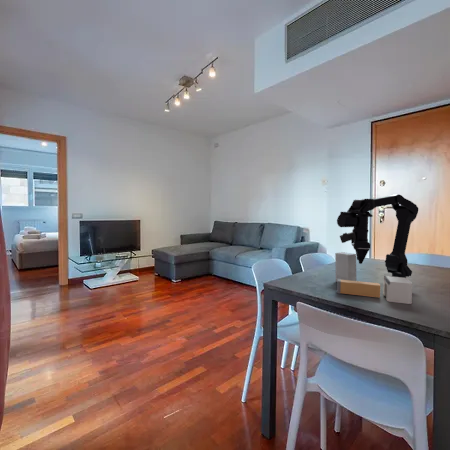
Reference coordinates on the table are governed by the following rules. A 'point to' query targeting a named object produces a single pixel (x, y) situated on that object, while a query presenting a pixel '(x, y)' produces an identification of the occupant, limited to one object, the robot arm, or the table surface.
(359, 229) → the robot arm
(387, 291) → the block
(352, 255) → the skincare box
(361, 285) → the plug
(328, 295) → the table surface
